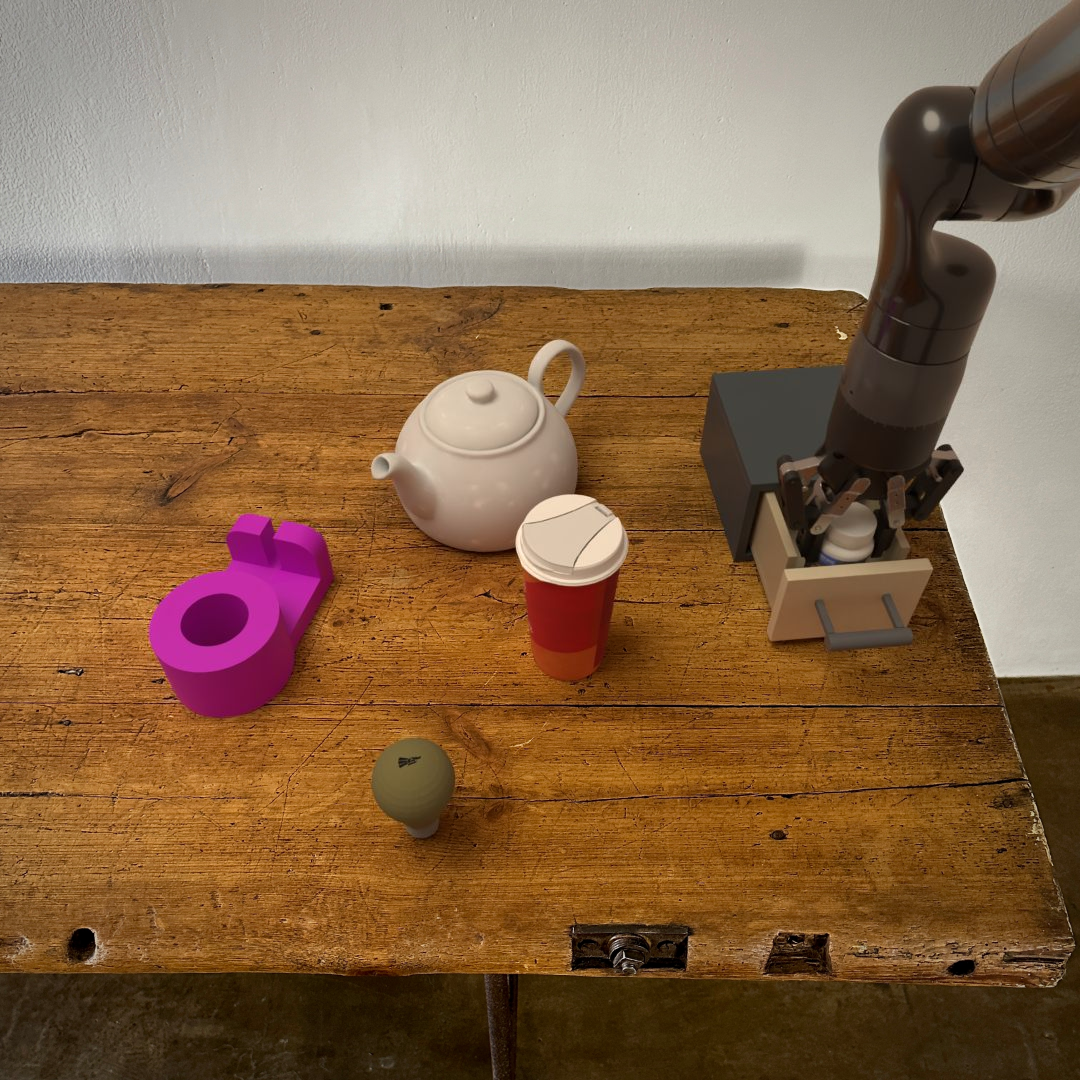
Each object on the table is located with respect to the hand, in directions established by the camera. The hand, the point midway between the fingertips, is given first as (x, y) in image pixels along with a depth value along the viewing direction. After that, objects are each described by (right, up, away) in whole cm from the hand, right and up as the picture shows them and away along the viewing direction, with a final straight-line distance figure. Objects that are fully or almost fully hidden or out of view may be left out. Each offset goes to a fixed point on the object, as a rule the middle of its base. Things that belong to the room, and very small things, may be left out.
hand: (840, 551), depth 79 cm
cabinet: (-1, +5, +14) cm, 15 cm away
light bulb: (-33, -20, -8) cm, 39 cm away
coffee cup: (-22, -9, +2) cm, 24 cm away
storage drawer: (0, -4, +5) cm, 6 cm away
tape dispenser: (-49, -7, +3) cm, 49 cm away
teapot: (-29, +5, +15) cm, 33 cm away
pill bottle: (0, -3, +3) cm, 5 cm away
